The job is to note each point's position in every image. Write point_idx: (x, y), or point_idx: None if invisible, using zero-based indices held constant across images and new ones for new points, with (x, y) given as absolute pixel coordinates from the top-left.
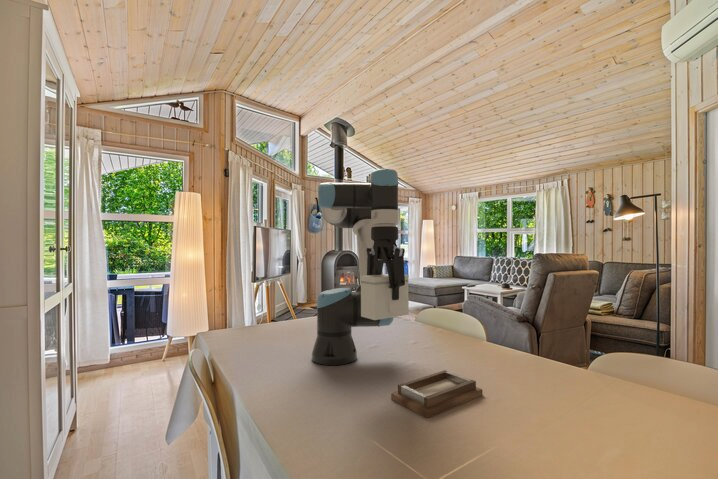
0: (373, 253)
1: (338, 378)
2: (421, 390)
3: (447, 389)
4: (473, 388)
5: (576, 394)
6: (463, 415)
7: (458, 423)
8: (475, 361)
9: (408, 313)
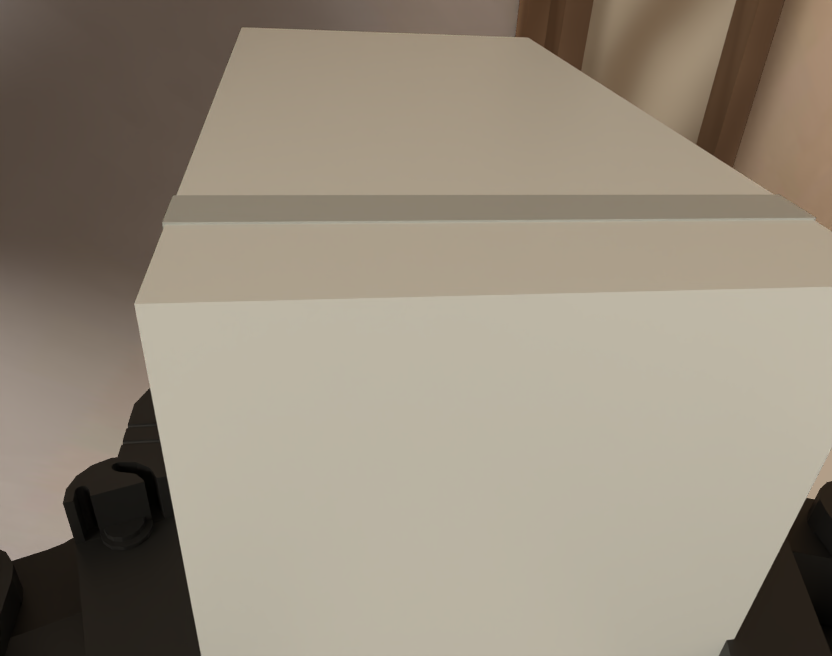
0: None
1: (117, 245)
2: (595, 78)
3: (753, 41)
4: None
5: None
6: (802, 55)
7: (804, 129)
8: None
9: (532, 42)
